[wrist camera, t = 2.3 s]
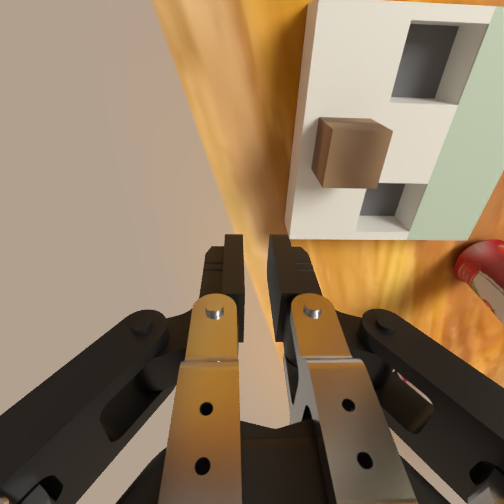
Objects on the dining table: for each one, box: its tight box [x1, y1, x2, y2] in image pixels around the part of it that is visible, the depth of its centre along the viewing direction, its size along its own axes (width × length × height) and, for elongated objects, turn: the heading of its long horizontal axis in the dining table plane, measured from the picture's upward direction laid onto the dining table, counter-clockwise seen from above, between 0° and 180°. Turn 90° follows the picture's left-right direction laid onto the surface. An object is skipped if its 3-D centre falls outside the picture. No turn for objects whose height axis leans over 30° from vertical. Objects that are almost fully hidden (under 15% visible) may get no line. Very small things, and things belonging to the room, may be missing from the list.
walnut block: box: [311, 117, 393, 189], centre depth 25 cm, size 4×4×4 cm
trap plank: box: [284, 0, 504, 240], centre depth 29 cm, size 20×20×4 cm
